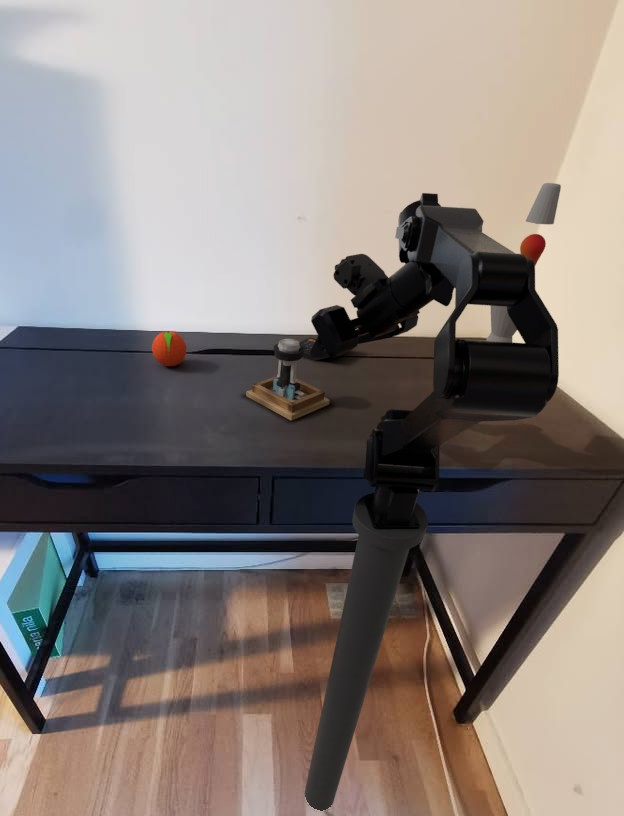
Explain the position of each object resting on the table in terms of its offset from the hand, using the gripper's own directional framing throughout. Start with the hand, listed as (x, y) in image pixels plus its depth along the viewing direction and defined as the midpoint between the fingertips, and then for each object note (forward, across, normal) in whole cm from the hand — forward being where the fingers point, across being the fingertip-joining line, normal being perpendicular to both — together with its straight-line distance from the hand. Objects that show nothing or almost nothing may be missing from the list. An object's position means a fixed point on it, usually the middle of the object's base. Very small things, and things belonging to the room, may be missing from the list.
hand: (331, 348), depth 76 cm
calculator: (+26, -24, -6) cm, 36 cm away
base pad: (+17, -2, +2) cm, 17 cm away
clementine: (+35, +7, -16) cm, 39 cm away
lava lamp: (+5, -49, +14) cm, 51 cm away
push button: (+16, -2, +2) cm, 16 cm away
